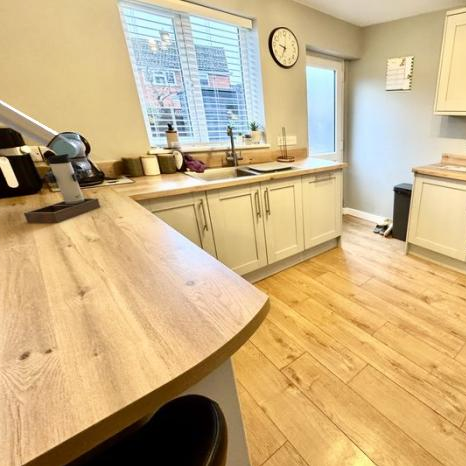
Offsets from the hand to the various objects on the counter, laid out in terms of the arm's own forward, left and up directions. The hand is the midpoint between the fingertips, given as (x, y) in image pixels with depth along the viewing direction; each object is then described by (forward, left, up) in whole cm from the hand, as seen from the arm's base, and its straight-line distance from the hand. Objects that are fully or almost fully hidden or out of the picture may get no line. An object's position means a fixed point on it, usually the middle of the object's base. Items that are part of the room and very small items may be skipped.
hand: (62, 179), depth 115 cm
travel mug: (-2, +5, -11) cm, 12 cm away
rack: (-3, -1, -15) cm, 15 cm away
